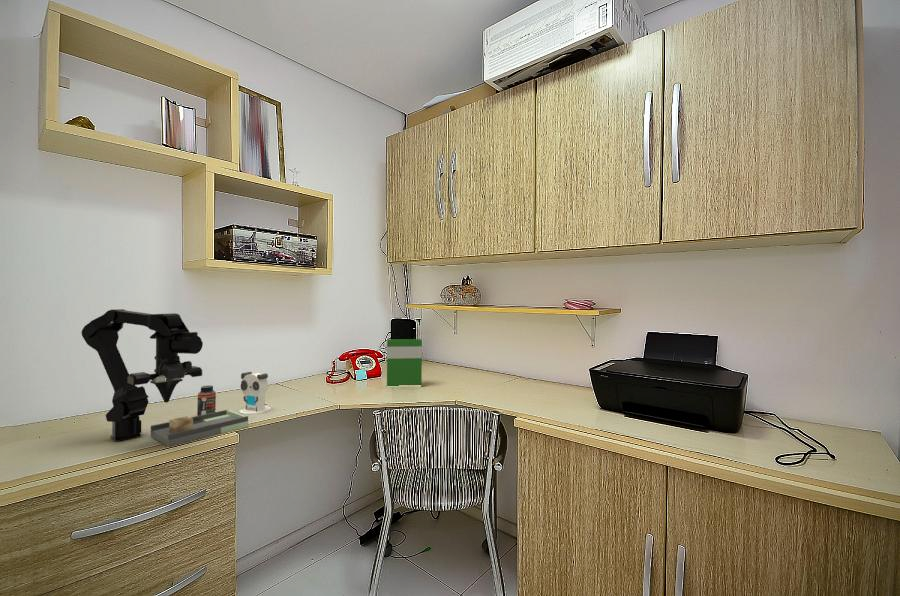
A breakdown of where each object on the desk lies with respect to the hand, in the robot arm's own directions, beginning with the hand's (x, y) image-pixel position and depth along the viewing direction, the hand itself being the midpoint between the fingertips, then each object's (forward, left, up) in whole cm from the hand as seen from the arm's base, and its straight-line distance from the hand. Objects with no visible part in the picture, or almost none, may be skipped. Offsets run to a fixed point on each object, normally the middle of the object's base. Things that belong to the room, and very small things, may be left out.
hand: (166, 402), depth 126 cm
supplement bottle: (+19, +18, -12) cm, 29 cm away
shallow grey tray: (+10, 0, -12) cm, 16 cm away
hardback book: (+104, -6, -12) cm, 105 cm away
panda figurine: (+34, +11, -12) cm, 38 cm away
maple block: (+4, 0, -10) cm, 11 cm away
